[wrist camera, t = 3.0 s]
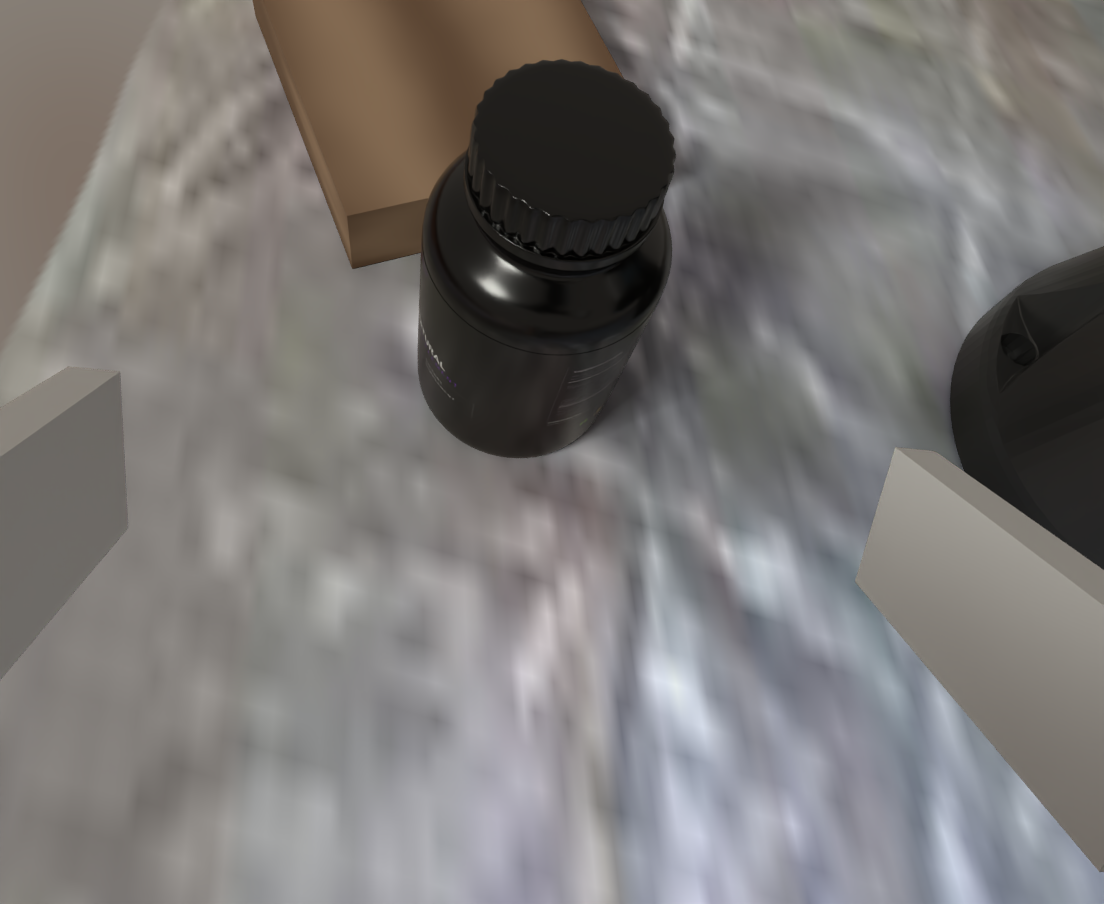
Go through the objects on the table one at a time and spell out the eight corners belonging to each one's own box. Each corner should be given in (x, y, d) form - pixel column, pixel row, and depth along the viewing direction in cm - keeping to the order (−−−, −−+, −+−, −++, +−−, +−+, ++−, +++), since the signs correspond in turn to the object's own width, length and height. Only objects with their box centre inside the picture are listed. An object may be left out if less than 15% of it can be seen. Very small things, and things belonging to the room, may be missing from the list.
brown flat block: (522, -24, 38) (531, -88, 35) (640, 199, 34) (661, 146, 31) (255, 15, 34) (242, -53, 32) (352, 268, 30) (347, 216, 28)
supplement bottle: (375, 378, 29) (356, 119, 18) (503, 264, 32) (554, -21, 21) (524, 505, 28) (599, 313, 17) (643, 377, 31) (774, 140, 20)
